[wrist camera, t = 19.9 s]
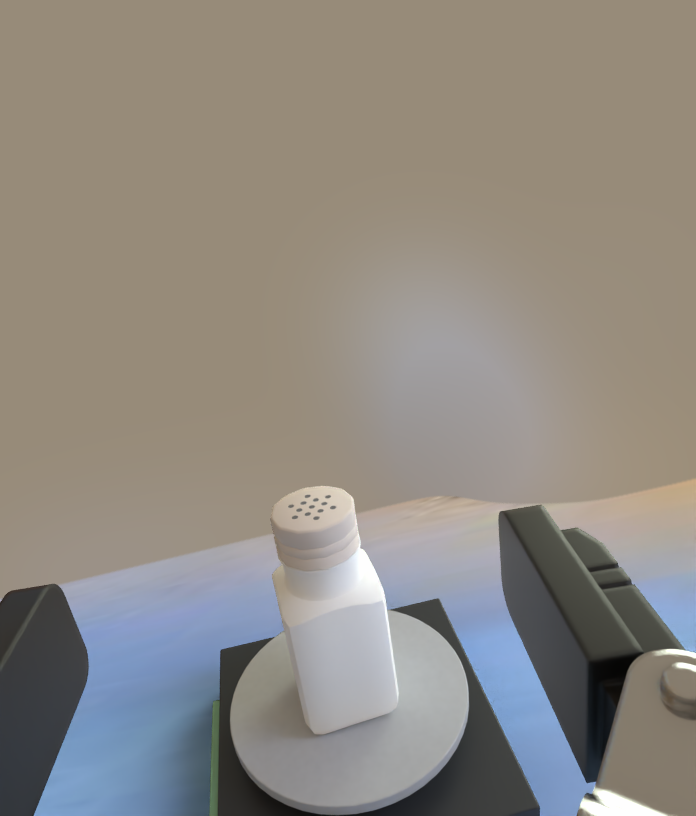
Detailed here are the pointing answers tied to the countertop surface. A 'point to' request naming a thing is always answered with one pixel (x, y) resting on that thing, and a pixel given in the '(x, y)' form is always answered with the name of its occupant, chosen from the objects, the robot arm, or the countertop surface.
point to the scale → (365, 737)
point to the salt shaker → (332, 611)
